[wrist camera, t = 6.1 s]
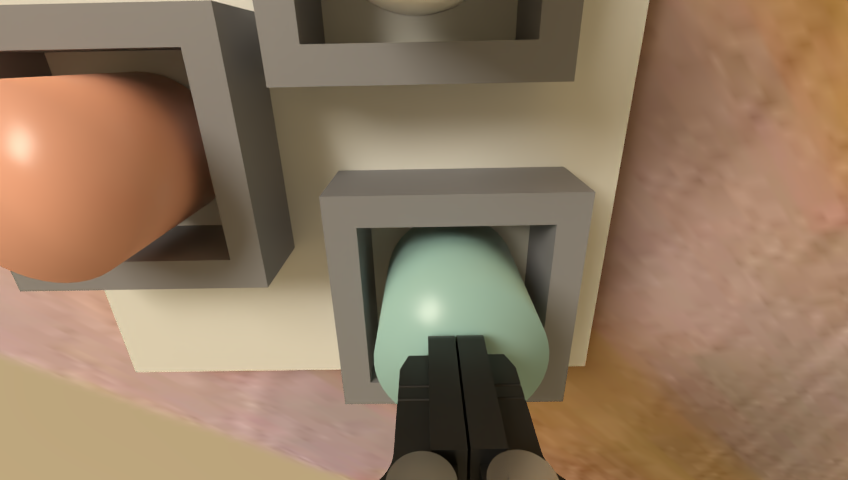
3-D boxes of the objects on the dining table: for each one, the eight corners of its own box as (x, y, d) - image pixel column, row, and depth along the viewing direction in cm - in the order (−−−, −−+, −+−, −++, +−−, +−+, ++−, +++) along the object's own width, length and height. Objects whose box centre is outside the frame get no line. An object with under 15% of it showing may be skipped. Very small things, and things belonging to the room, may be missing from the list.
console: (671, -327, 11) (842, -590, 7) (570, 337, 20) (613, 420, 16) (-59, -306, 11) (-384, -549, 7) (161, 343, 20) (85, 427, 16)
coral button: (211, 69, 13) (97, 77, 8) (241, 212, 15) (161, 281, 10) (60, 72, 13) (-135, 82, 9) (109, 214, 15) (-27, 284, 10)
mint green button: (517, 214, 15) (559, 283, 10) (509, 324, 17) (540, 424, 12) (384, 216, 15) (367, 286, 10) (391, 326, 17) (379, 426, 12)
